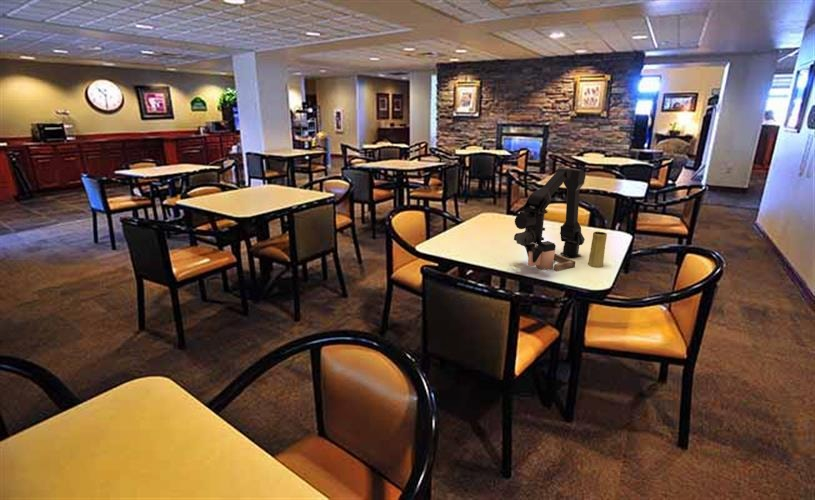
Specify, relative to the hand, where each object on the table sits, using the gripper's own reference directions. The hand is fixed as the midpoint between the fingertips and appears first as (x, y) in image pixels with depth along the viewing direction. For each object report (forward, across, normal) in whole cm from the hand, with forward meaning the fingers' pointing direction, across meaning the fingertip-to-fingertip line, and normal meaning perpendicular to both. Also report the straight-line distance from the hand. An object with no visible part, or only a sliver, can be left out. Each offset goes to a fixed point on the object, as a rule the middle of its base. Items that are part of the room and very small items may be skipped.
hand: (532, 261), depth 180 cm
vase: (+4, +8, +29) cm, 30 cm away
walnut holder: (+4, 0, +13) cm, 13 cm away
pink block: (+4, 0, +5) cm, 6 cm away
